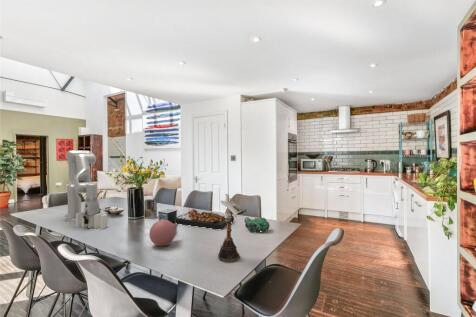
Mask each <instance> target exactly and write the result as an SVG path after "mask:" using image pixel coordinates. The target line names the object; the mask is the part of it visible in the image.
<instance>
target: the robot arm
mask: <svg viewBox="0 0 476 317" xmlns="http://www.w3.org/2000/svg"><path fill="white" fill-rule="evenodd" d="M65 157H66V161H67V164H68V179H69V181H71V183H68V184H67V186H66V194H67V214H66V215H64V217H65V219H64V220H65V221H66V222H74V221H75V222H76V214H77V213H81V212H82V197H81V196H80V195H79V194H85V199H84V200H85V203H84V208H83V213H82V214H81V215H82V217H83V218H84V224H88V223H89V219H88V217H89V216H91V215H96V214H101V211H102V208H100V202H99V199H98V190H99V189H98V188H99V186H98V183H96V182H93V181H91V180H92V178H91V177H92V176H91V167H90V165H95V164H96V162H97V156H96V155H95V154H94V153H93V152H92V151H90V150H79V149H73V150H67V152H66V154H65ZM86 216H87V217H86Z"/></svg>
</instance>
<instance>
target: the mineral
mask: <svg viewBox="0 0 476 317" xmlns="http://www.w3.org/2000/svg"><path fill="white" fill-rule="evenodd" d="M244 223H245V224H244V226H245V227H246V229H247V230H248V231H250V233H252V232H260V231H263V232H267V231H268V230H269V229H270V223H269V221H268V220H267V219H266V218H265V217H255V218H254V219H251V218H249V217H247V216H246V217H245V218H244ZM260 233H261V232H260Z"/></svg>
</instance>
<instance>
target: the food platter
mask: <svg viewBox="0 0 476 317" xmlns="http://www.w3.org/2000/svg"><path fill="white" fill-rule="evenodd" d="M225 216H226V215H221V214H219V213H214V212H207V211H202V212H201V213H200V212H198V210H197V209H196V208H195V206H194V207H193V208H192V210H190V209H188V212H185V213H182V214H180V215H177V216H175V217H176V223H177V225H179V224H182V226H187V225H191V226H190V227H194V226H198V227H197V228H201V227H206V228H205V229H208V228H212V229H211V230H216V229H222V228H224V227H225V226H227V222H225V218H224V217H225ZM233 221H234V222H235V217H234V218H233ZM225 228H226V227H225ZM225 228H224V229H225ZM222 230H223V229H222Z"/></svg>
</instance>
